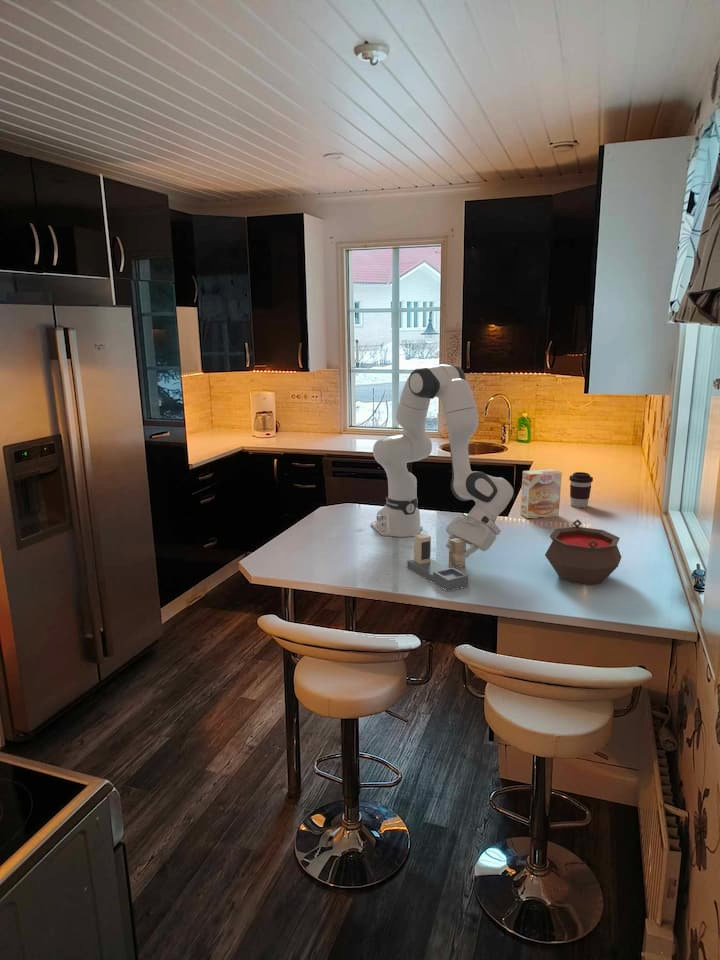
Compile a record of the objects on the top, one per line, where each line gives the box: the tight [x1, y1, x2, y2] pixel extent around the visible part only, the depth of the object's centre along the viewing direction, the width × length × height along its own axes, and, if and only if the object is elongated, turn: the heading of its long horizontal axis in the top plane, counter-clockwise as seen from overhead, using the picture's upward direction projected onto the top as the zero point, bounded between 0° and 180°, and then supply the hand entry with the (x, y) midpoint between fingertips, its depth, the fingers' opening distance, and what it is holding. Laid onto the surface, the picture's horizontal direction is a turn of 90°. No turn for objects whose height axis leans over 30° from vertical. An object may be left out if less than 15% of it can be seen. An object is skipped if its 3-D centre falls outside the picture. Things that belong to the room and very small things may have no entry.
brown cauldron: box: [544, 518, 622, 586], centre depth 205 cm, size 24×24×16 cm
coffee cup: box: [568, 471, 594, 508], centre depth 285 cm, size 10×10×15 cm
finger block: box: [448, 538, 467, 568], centre depth 217 cm, size 4×4×9 cm
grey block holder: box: [406, 532, 469, 592], centre depth 206 cm, size 23×8×12 cm, turn 28°
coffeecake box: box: [519, 468, 563, 519], centre depth 271 cm, size 15×7×20 cm, turn 104°
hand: (456, 551), depth 216 cm, fingers open, 8 cm apart
